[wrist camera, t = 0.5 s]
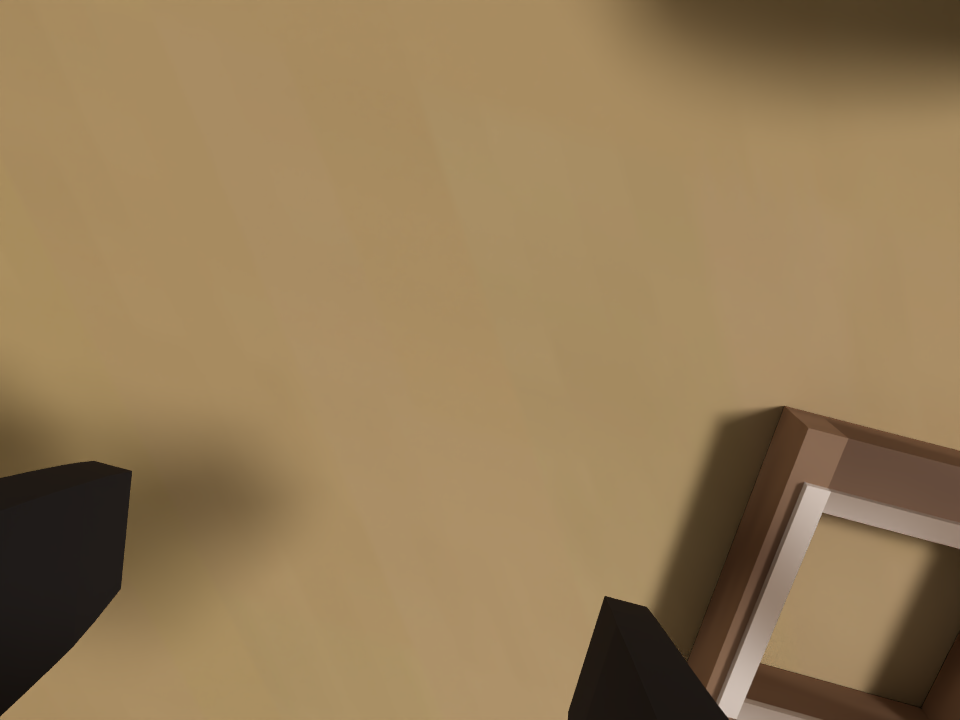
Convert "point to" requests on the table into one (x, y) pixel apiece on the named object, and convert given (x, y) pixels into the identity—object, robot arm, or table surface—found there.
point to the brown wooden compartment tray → (782, 546)
